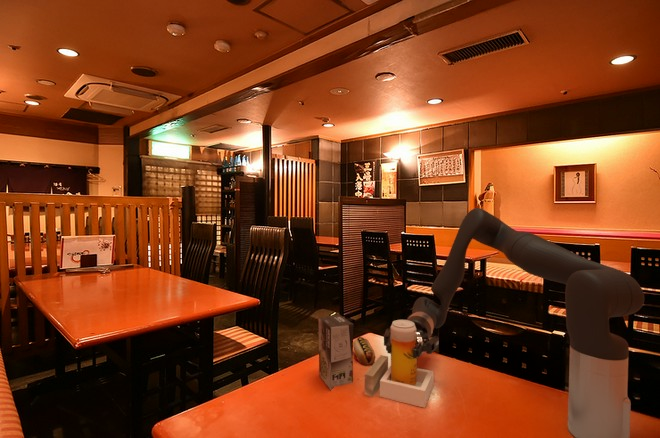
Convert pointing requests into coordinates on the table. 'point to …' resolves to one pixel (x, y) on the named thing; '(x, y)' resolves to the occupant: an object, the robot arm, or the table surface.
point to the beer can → (403, 352)
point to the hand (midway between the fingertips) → (401, 351)
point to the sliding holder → (408, 388)
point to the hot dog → (364, 351)
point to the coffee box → (335, 350)
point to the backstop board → (375, 375)
